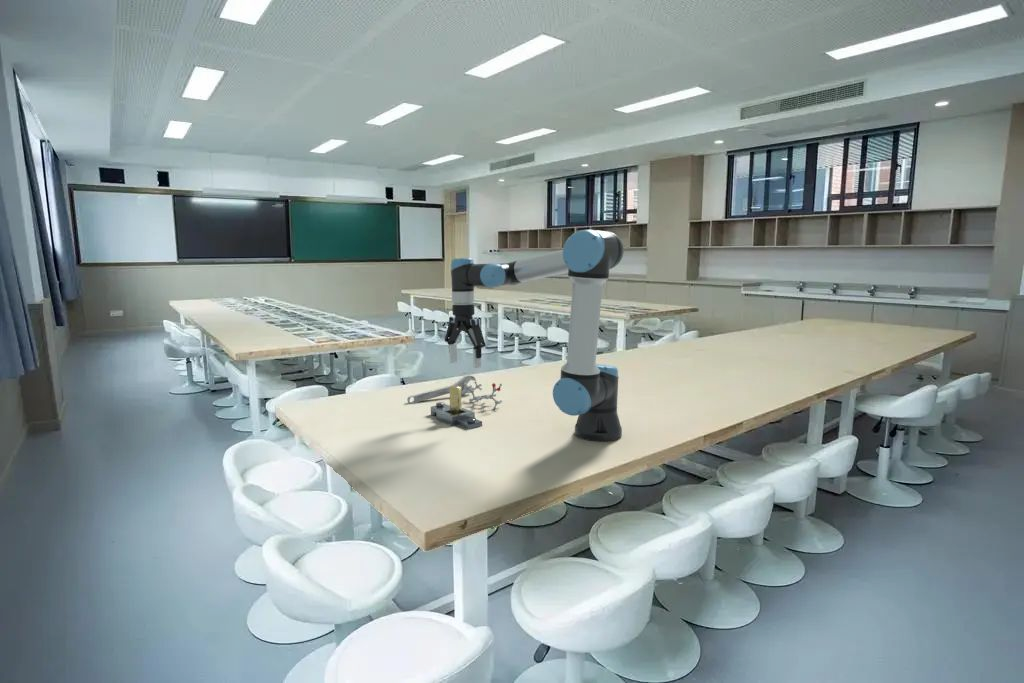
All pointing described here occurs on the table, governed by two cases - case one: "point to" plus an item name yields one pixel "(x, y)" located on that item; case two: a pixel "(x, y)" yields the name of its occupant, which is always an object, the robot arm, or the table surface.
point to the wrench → (442, 390)
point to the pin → (455, 400)
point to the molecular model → (483, 395)
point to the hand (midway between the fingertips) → (465, 365)
